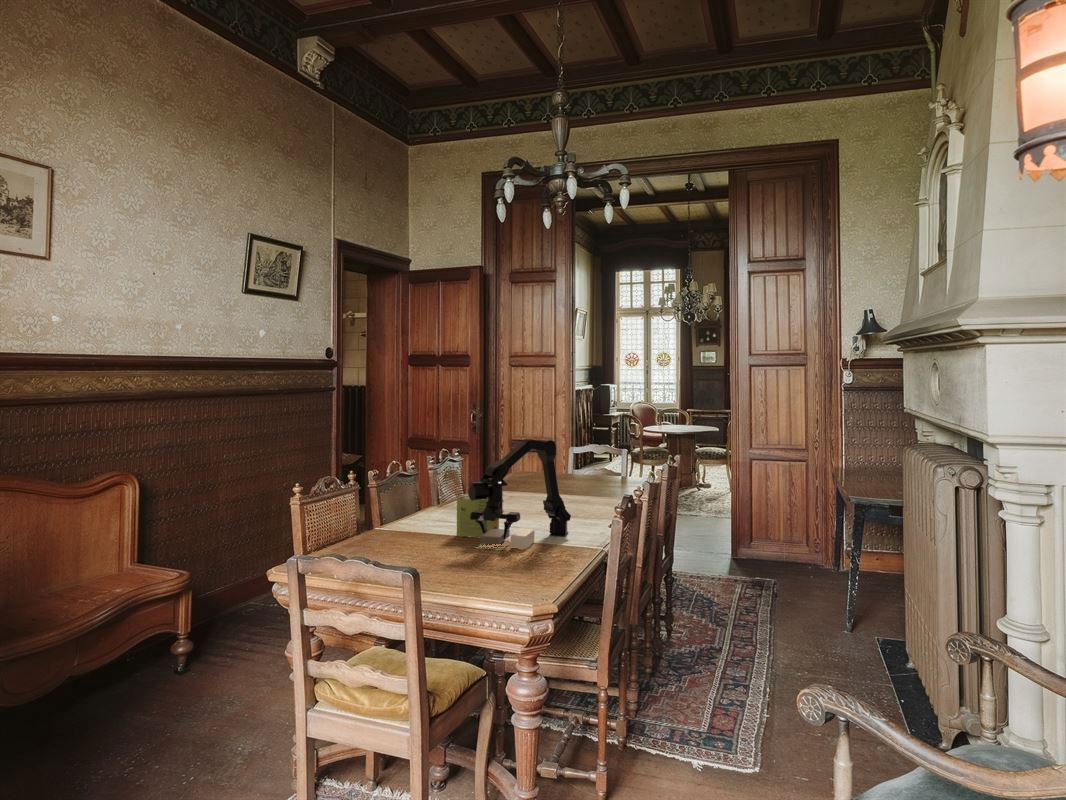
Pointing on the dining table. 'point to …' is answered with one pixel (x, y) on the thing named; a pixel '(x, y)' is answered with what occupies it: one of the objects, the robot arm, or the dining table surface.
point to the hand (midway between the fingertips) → (495, 538)
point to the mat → (495, 544)
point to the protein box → (463, 517)
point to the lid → (494, 536)
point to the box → (522, 538)
